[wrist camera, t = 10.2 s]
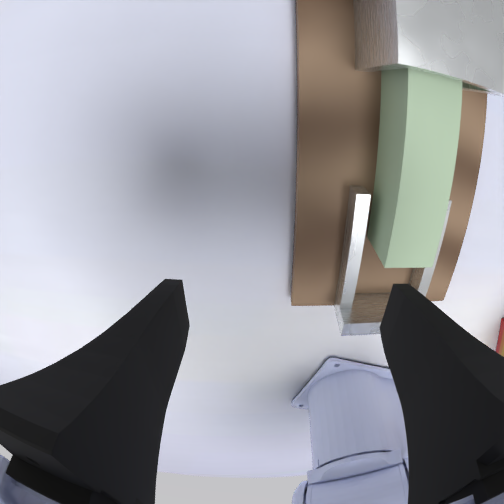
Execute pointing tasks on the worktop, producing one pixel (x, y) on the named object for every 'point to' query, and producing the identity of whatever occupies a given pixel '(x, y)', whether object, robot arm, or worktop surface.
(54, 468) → the robot arm
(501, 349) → the baking soda box
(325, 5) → the board
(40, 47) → the worktop surface
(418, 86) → the green long rectangular block
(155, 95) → the worktop surface
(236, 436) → the worktop surface
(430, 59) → the end caps
